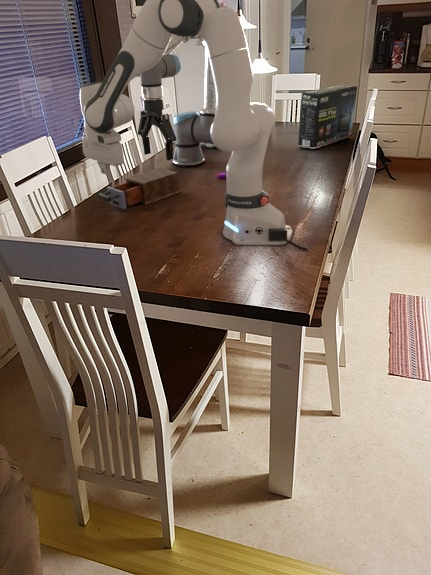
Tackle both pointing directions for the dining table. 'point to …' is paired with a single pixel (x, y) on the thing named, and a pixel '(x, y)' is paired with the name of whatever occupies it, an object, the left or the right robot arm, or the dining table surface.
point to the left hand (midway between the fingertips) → (158, 156)
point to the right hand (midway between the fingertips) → (105, 173)
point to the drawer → (123, 194)
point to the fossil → (207, 145)
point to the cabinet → (156, 184)
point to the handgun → (222, 175)
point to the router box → (326, 115)
